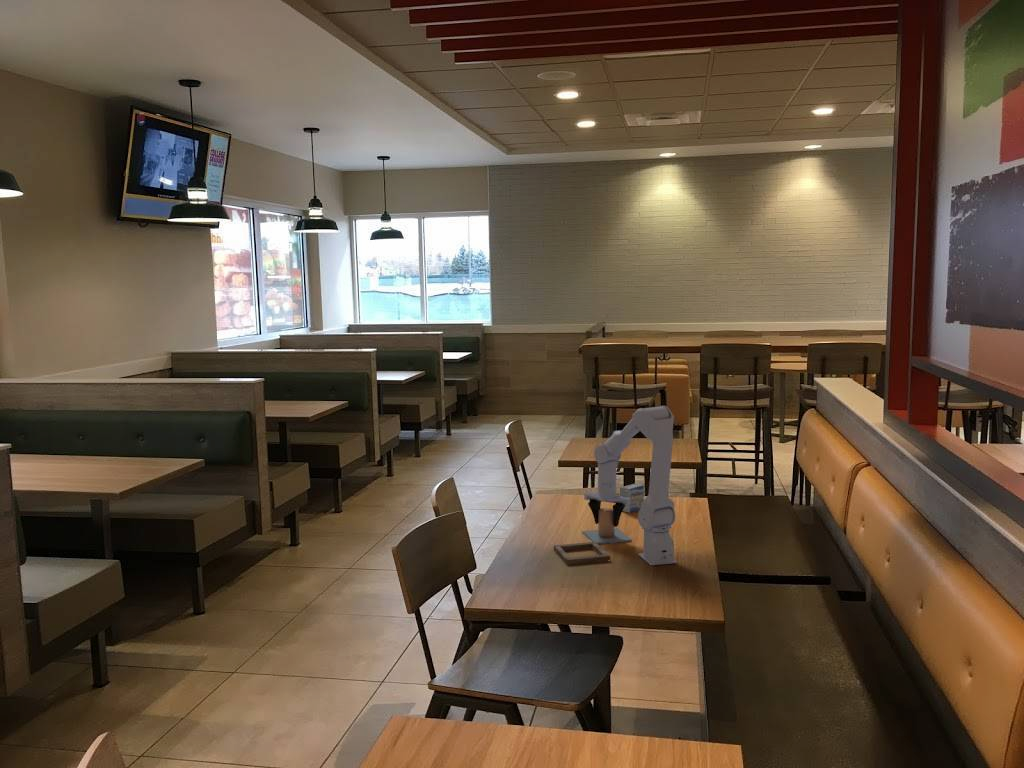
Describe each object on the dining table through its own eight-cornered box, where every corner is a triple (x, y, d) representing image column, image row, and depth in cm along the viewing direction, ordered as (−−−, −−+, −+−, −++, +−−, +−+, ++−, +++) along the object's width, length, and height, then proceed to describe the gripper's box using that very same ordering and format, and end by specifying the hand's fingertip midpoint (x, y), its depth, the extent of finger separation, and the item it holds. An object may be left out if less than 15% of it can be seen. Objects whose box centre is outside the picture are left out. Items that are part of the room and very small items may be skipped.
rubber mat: (631, 541, 251) (631, 539, 251) (594, 544, 248) (594, 542, 248) (617, 529, 263) (617, 528, 263) (582, 532, 260) (582, 531, 260)
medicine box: (629, 513, 281) (629, 489, 280) (619, 510, 284) (619, 486, 283) (644, 509, 286) (644, 485, 285) (634, 506, 289) (634, 482, 288)
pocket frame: (610, 560, 234) (610, 555, 234) (567, 565, 231) (567, 559, 231) (595, 546, 247) (595, 541, 247) (553, 550, 244) (553, 545, 244)
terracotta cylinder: (610, 537, 252) (610, 512, 251) (595, 535, 255) (595, 510, 254) (617, 534, 256) (617, 509, 256) (602, 532, 259) (602, 507, 258)
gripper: (580, 482, 253) (580, 524, 255) (624, 487, 246) (624, 531, 248) (589, 477, 259) (589, 518, 261) (632, 482, 253) (632, 525, 254)
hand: (606, 524), depth 255 cm, fingers open, 6 cm apart
